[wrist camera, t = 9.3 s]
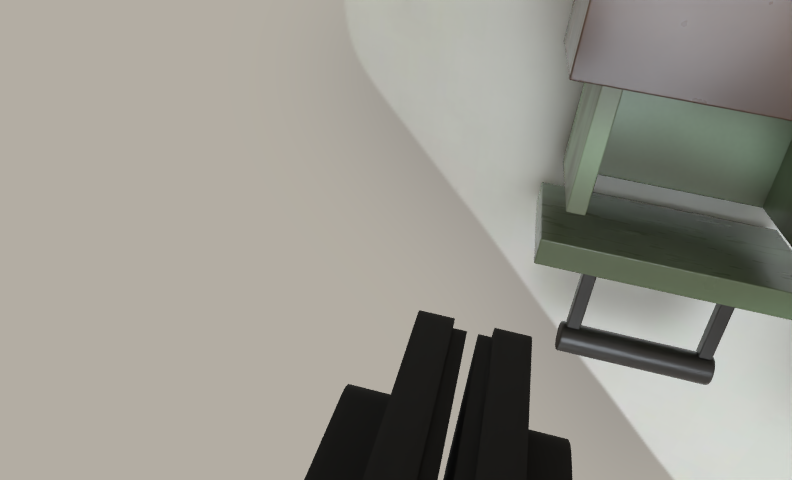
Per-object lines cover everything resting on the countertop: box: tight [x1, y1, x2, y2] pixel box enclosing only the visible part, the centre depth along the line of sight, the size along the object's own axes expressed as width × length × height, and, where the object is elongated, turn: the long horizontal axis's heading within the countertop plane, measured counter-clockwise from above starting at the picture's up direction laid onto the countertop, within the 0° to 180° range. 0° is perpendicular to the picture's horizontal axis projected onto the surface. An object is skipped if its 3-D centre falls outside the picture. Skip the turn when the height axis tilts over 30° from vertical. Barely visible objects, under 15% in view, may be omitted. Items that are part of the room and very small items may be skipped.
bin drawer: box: [534, 83, 792, 385], centre depth 28 cm, size 19×11×7 cm, turn 172°
